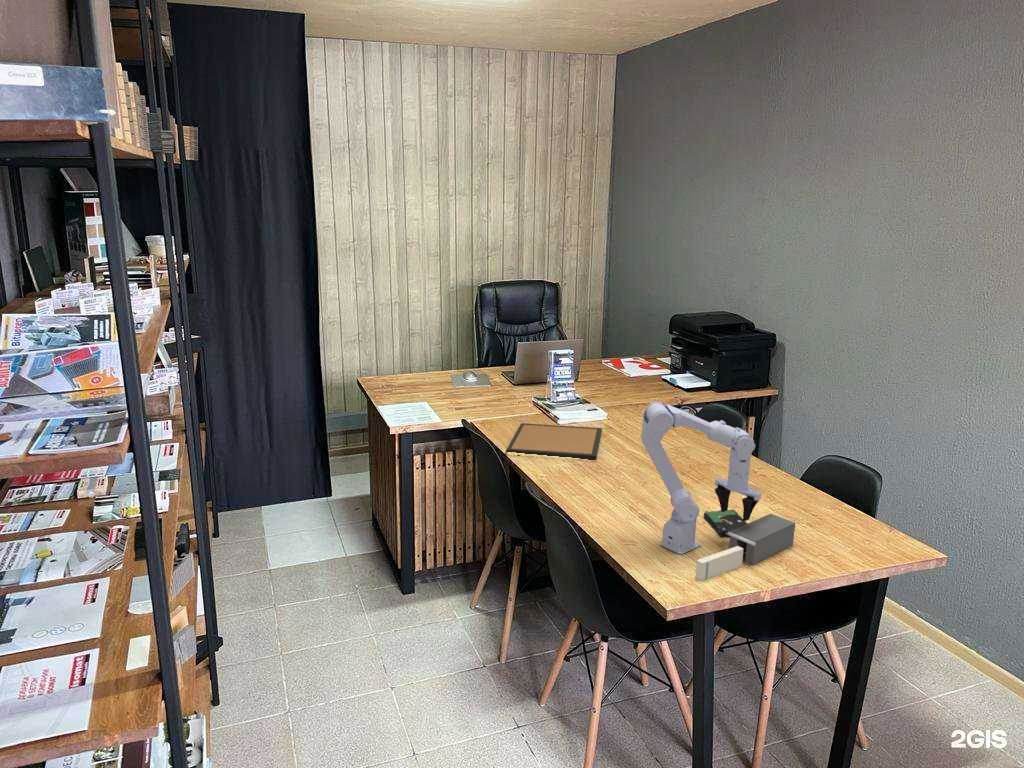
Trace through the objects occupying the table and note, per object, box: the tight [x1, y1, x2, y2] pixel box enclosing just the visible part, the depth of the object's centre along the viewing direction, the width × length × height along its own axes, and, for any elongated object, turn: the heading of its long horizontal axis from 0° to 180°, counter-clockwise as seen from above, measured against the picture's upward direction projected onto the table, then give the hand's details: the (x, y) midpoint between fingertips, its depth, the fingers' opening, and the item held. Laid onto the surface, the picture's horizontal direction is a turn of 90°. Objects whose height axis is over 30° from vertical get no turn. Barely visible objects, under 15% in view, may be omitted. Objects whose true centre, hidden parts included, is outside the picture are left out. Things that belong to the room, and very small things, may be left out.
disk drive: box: [703, 509, 748, 539], centre depth 233 cm, size 10×3×15 cm
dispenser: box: [728, 513, 796, 566], centre depth 217 cm, size 21×9×7 cm, turn 128°
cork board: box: [505, 422, 603, 461], centre depth 308 cm, size 36×3×35 cm
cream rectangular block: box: [694, 546, 744, 582], centre depth 205 cm, size 16×2×6 cm, turn 122°
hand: (735, 515), depth 219 cm, fingers open, 7 cm apart
